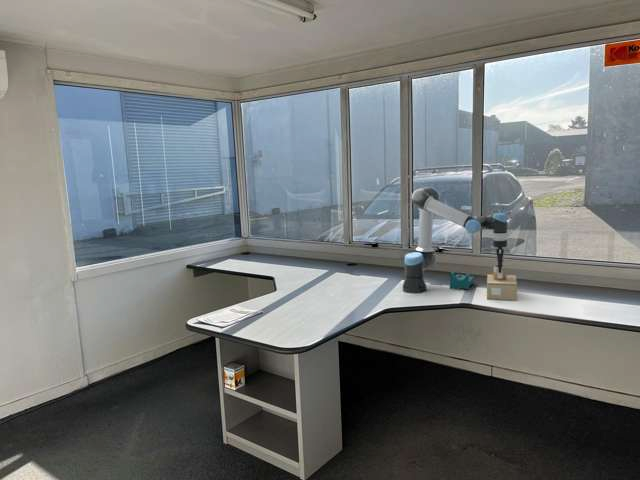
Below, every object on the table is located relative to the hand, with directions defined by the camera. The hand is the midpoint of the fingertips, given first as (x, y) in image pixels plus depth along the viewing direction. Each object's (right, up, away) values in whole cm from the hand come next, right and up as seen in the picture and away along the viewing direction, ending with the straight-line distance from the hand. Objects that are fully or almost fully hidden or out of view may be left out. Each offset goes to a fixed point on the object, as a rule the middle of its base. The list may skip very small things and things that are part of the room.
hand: (499, 275), depth 267 cm
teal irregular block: (-15, -9, +26) cm, 31 cm away
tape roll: (0, -2, 0) cm, 2 cm away
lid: (+1, -3, 0) cm, 3 cm away
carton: (+2, -12, +2) cm, 12 cm away
